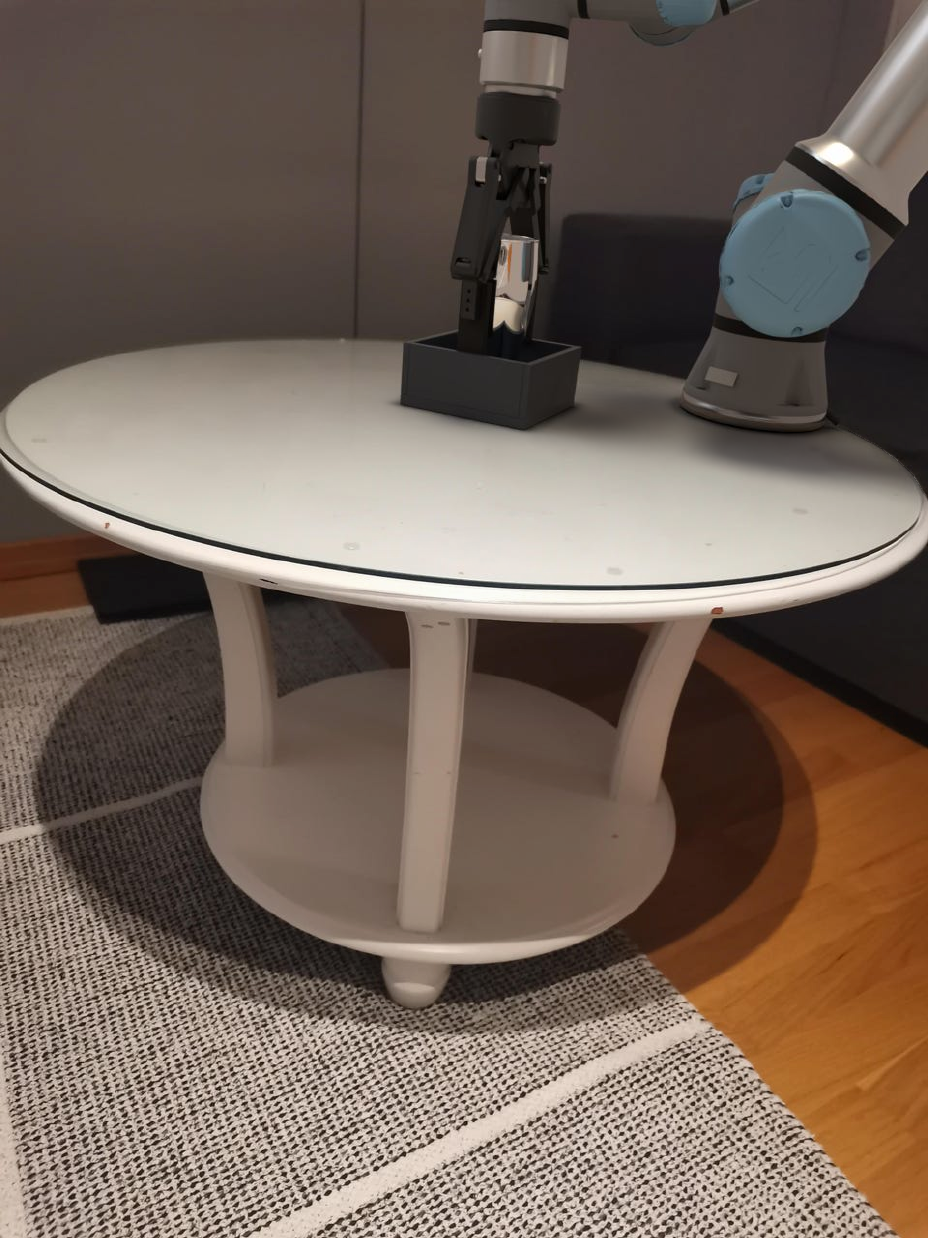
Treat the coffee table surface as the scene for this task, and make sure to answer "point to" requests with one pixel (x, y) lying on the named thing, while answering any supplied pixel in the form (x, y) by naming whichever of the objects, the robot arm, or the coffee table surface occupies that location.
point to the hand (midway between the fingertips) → (495, 347)
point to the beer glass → (511, 295)
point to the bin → (489, 380)
